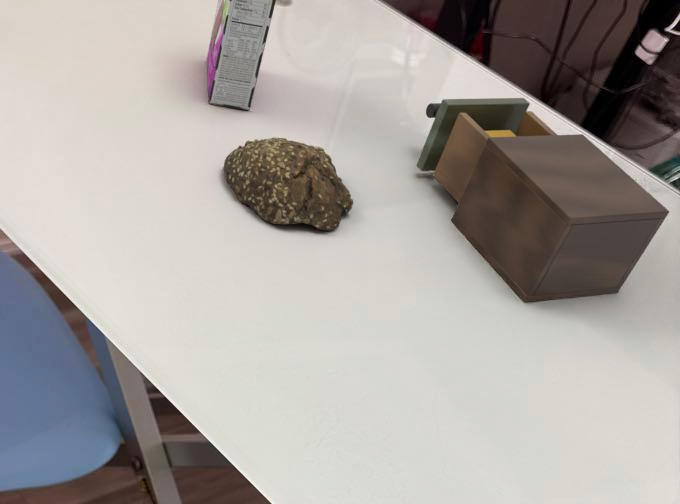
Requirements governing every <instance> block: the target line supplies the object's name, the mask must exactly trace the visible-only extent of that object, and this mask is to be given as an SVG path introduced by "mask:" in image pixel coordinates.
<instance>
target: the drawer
mask: <svg viewBox="0 0 680 504" xmlns="http://www.w3.org/2000/svg"><path fill="white" fill-rule="evenodd" d="M530 105H531V103H530V102H529V101H528V100H527V99H526V98H525V97H502V98H501V97H499V98H498V97H496V98H492V97H491V98H488V97H487V98H443V99H441V102H437V103H436V102H435V103H434V102H431V103H428V105H427V106H426V108H425V116H426V117H427V118H428V119H434V120H433V122H432V124H431V126H430V130H429V132H428V134H427V137H426V139H425V141H424V145H423V147H422V149H421V151H420V155H419V157H418V159H417V162H416V164H415V165H416V167H417V168H418V169H419V170H420V171H421V172H433V173H432V176H433V177H434V178H435V179H436V180H437V182H439V183H440V184H441V186H442V187H443V188H444V189H445V190H446V191H447V192H448V193H449V194H450V195H451V197H452V198H453V199H454V200H455V201H456V202H457V203H458V204H459V201H460V199H461V197H462V195H463V192H464V190H465V188H466V186H467V184H468V181H469V179H470V177H471V175H472V173H473V170H474V168H475V166H476V164H477V162H478V159H479V157H480V155H481V153H482V150H483V148H484V146H485V145H486V142H487V139H488V138H489V137H490V136H489V135H488V134H487V133H486V132H485V131H495V130H510V131H511V132H513V133H514V134H515V135H516V136H547V135H558V134H557V132H555V131H554V130H553V129H552V128H551V127H550V126H549V125H548V124H547V123H545V122H544V121H543V120H542V119H541V118H540V117H538V115H536V114H535V113H534V111H532V110H528V109H529V107H530Z"/></svg>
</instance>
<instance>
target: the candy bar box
mask: <svg viewBox="0 0 680 504" xmlns="http://www.w3.org/2000/svg"><path fill="white" fill-rule="evenodd" d="M276 2H277V0H217V5H216V9H215V15H214V19H213V26H212V30H211V36H210V41H209V44H208V45H209V46H208V51H207V55H206V70H207V92H208V104H211V105H214V106H218V107H225V108H231V109H239V110H245V111H250V110H251V107H252V102H253V97H254V94H255V90H256V85H257V81H258V77H259V73H260V68H261V64H262V61H263V56H264V52H265V48H266V44H267V39H268V35H269V31H270V27H271V23H272V19H273V15H274V11H275V10H274V9H275V6H276Z"/></svg>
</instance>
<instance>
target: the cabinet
mask: <svg viewBox="0 0 680 504" xmlns="http://www.w3.org/2000/svg"><path fill="white" fill-rule="evenodd" d="M669 213H670V210H669V209H667V208H666V207H665V206H664V205H663V204H661V202H660V201H658V200H657V198H655V197H654V196H653V195H652V194H651V193H650V192H648V191H647V190H646V189H645V188H644V187H642V185H640V184H639V183H638V182H637V181H636V180H635V179H634V178H632V177H631V176H630V174H628V173H627V172H626V171H624V169H622V168H621V167H620V166H619V165H618V164H616V163H615V161H614V160H612V159H611V158H610V157H609V156H607V154H606V153H604V152H603V151H602V150H601V149H600V148H599V147H598V146H597V145H596V144H594V143H593V142H592V141H591V140H590V139H589V138H588V137H586V136H585V135H584V134H582V133H581V134H579V133H578V134H557V135H547V136H516V137H489V138H488V139H487V142H486V145H485V146H484V148H483V150H482V153H481V155H480V157H479V159H478V162H477V164H476V166H475V168H474V170H473V173H472V175H471V177H470V179H469V181H468V184H467V186H466V188H465V190H464V192H463V195H462V197H461V199H460V201H459V203H458V204H457V206H456V208H455V210H454V213H453V215H452V217H451V219H450V221H451V223H452V224H454V226H455V227H456V228H457V229H458V231H460V232H461V233H462V235H463V236H464V237H465V238H466V239H467V240H468V242H469V243H471V245H472V246H473V248H475V250H476V251H478V252H479V253H480V255H481V256H482V257H483V258H484V259H485V260H486V261H487V263H489V265H490V266H491V267H492V268H493V269H494V271H496V273H498V275H499V276H500V277H501V278H502V279H503V281H504V282H505V283H506V284H507V285H508V286H509V287H510V288H511V290H513V292H514V293H515V294H516V295H517V296H518V298H520V299H521V300H522V302H523V303H530V302H539V301H540V302H541V301H549V300H559V299H569V298H570V299H571V298H579V297H589V296H599V295H609V294H617V293H619V292H620V290H621V289H622V287H623V285H624V284H625V283H626V281H627V279H628V278H629V276H630V275H631V272H632V271H633V270H634V268H635V267H636V265H637V263H638V262H639V260H640V259H641V257H642V256H643V254H644V253H645V251H646V250H647V248H648V246H649V245H650V244H651V242H652V240H653V238H654V237H655V236H656V234H657V232H658V231H659V229H660V228H661V226H662V225H663V223H664V221H665V220H666V218H667V217H668V215H669Z"/></svg>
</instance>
